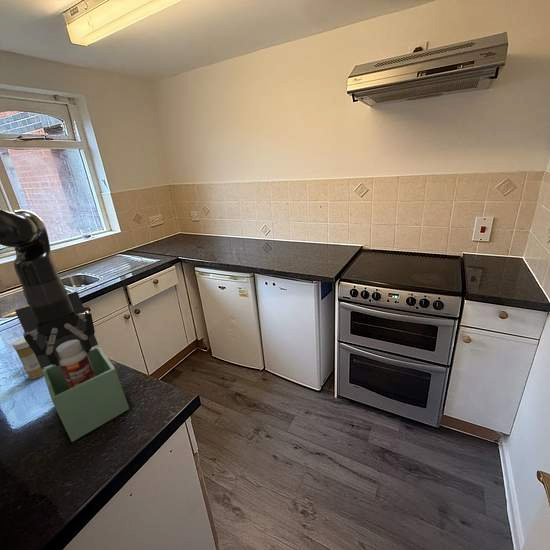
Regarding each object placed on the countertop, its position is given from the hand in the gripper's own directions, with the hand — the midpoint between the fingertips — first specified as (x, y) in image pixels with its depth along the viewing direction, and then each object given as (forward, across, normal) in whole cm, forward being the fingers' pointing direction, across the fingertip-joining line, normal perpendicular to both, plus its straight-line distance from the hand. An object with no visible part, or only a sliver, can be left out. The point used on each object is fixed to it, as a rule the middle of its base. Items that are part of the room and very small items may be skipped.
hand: (72, 357), depth 75 cm
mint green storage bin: (+17, 0, 0) cm, 17 cm away
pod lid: (-5, 0, -9) cm, 10 cm away
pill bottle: (+8, 0, 0) cm, 8 cm away
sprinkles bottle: (+17, +9, -32) cm, 37 cm away
